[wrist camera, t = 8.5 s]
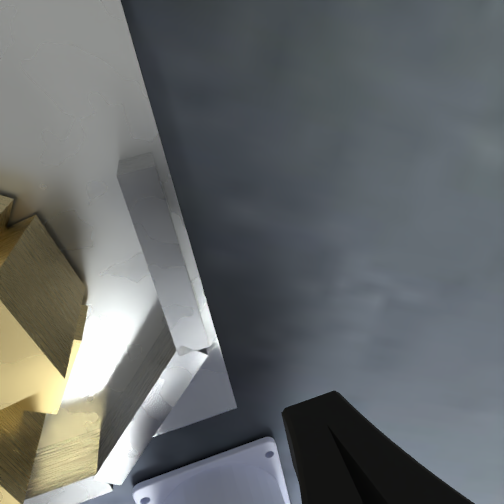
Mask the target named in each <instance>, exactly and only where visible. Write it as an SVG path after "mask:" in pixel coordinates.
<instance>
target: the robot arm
mask: <svg viewBox="0 0 504 504" xmlns="http://www.w3.org/2000/svg"><path fill="white" fill-rule="evenodd" d="M282 417H283V422H284V426H285V431H286V435H287V440H288V444H289V449H290V453H291V458H292V462H293V466H294V469H295V472H296V475H297V478H298V481H299V485H300V492H301V499H302V504H474V503H473V502H471V501H470V500H469V499H467V498H466V497H464V496H463V495H461V494H460V493H459V492H457V491H456V490H455V489H453V488H452V487H450V486H449V485H448V484H446V483H445V482H444V481H442V480H441V479H439V478H438V477H437V476H435V475H434V474H433V473H431V472H430V471H429V470H428V469H426V468H425V467H424V466H422V465H421V464H420V463H418V462H417V461H416V460H415V459H414V458H412V457H411V456H410V455H409V454H407V453H406V452H405V451H404V450H402V449H401V448H400V447H399V446H397V445H396V444H395V443H394V442H392V441H391V440H390V439H389V438H388V437H387V436H385V435H384V434H383V433H382V432H381V431H380V430H378V429H377V428H376V427H375V426H374V425H373V424H372V423H370V422H369V421H368V420H367V419H366V418H365V417H364V416H363V415H362V414H360V413H359V412H358V411H357V410H356V409H355V408H354V407H353V406H352V405H351V404H350V403H349V402H348V401H347V400H346V399H345V398H344V397H343V396H342V395H341V394H340V393H338V392H336V391H332V392H329V393H326V394H323V395H320V396H318V397H315V398H312V399H309V400H306V401H304V402H301V403H298V404H295V405H292V406H289V407H287V408H285V409H284V411H283V412H282ZM268 451H269V452H268ZM133 498H134V500H135V502H136V504H290V500H289V496H288V492H287V487H286V483H285V479H284V475H283V471H282V467H281V463H280V459H279V455H278V450H277V446H276V443H275V440H274V439H273V438H272V437H264V438H261V439H259V440H256V441H253V442H250V443H248V444H245V445H242V446H239V447H237V448H234V449H231V450H228V451H226V452H223V453H220V454H217V455H215V456H212V457H209V458H206V459H203V460H201V461H198V462H195V463H192V464H190V465H187V466H184V467H181V468H179V469H176V470H173V471H170V472H168V473H165V474H162V475H159V476H157V477H154V478H151V479H148V480H146V481H143V482H140V483H138V484H136V485H135V486H134V487H133Z"/></svg>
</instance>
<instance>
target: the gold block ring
mask: <svg viewBox="0 0 504 504" xmlns="http://www.w3.org/2000/svg"><path fill="white" fill-rule="evenodd" d="M13 201H14V199H12V198H8V197H5V196H2V195H0V504H23V503H24V499H25V495H26V491H27V487H28V483H29V479H30V475H31V471H32V467H33V463H34V459H35V455H36V452H37V448H38V444H39V440H40V436H41V432H42V428H43V424H44V420H45V416H46V413H49V414H57V413H58V410H59V407H60V404H61V401H62V398H63V395H64V392H65V389H66V386H67V383H68V380H69V377H70V374H71V371H72V368H73V365H74V363H75V360H76V357H77V354H78V351H79V348H80V345H81V342H82V337H83V332H84V327H85V321H86V316H87V311H88V306H87V305H82V300H83V296H84V291H85V286H84V284H83V283H82V281H81V280H80V278H79V277H78V275H77V274H76V272H75V271H74V270H73V268H72V267H71V265H70V264H69V262H68V261H67V259H66V258H65V256H64V255H63V253H62V252H61V251H60V249H59V248H58V246H57V245H56V243H55V242H54V240H53V239H52V237H51V236H50V234H49V233H48V232H47V230H46V229H45V227H44V226H43V224H42V223H41V221H40V220H39V218H38V217H37V215H34V216H32V217H30V218H28V219H25V220H23V221H21V222H19V223H16V224H14V225H12V226H10V227H7V224H8V220H9V216H10V213H11V209H12V205H13Z"/></svg>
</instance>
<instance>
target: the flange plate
mask: <svg viewBox="0 0 504 504" xmlns="http://www.w3.org/2000/svg"><path fill="white" fill-rule="evenodd" d="M0 195H2V196H5V197H8V198H12V199H14V201H13V205H12V209H11V213H10V216H9V220H8V224H7V227H10V226H12V225H14V224H16V223H19V222H21V221H23V220H25V219H28V218H30V217H32V216H34V215H37V217H38V218H39V220H40V221H41V223H42V224H43V226H44V227H45V229H46V230H47V232H48V233H49V234H50V236H51V237H52V239H53V240H54V242H55V243H56V245H57V246H58V248H59V249H60V251H61V252H62V253H63V255H64V256H65V258H66V259H67V261H68V262H69V264H70V265H71V267H72V268H73V270H74V271H75V272H76V274H77V275H78V277H79V278H80V280H81V281H82V283H83V284H84V286H85V291H84V296H83V300H82V305H87V306H88V311H87V316H86V321H85V327H84V332H83V337H82V342H81V345H80V348H79V351H78V354H77V357H76V360H75V363H74V365H73V368H72V371H71V374H70V377H69V380H68V383H67V386H66V389H65V392H64V395H63V398H62V401H61V404H60V407H59V410H58V413H57V414H49V413H46V416H45V420H44V424H43V428H42V432H41V436H40V440H39V444H38V448H37V452H36V455H35V459H34V463H33V467H32V471H31V475H30V479H29V483H28V487H27V491H26V495H25V499H24V503H23V504H78V503H81V502H84V501H87V500H89V499H92V498H95V497H98V496H100V495H103V494H106V493H109V492H111V491H113V484H116V485H121V484H122V483H123V481H124V480H125V478H126V477H127V475H128V474H129V472H130V471H131V469H132V468H133V466H134V465H135V463H136V462H137V460H138V459H139V457H140V456H141V454H142V453H143V451H144V450H145V448H146V447H147V445H148V444H149V442H150V441H151V439H152V438H153V437H155V436H158V435H161V434H164V433H167V432H169V431H172V430H175V429H178V428H181V427H184V426H187V425H190V424H192V423H195V422H198V421H201V420H204V419H207V418H210V417H212V416H215V415H218V414H221V413H224V412H227V411H230V410H233V409H235V408H237V405H236V402H235V398H234V395H233V391H232V388H231V384H230V381H229V377H228V374H227V370H226V367H225V363H224V360H223V356H222V353H221V349H220V346H219V342H218V339H217V335H216V332H215V329H214V325H213V322H212V318H211V315H210V311H209V308H208V304H207V301H206V297H205V294H204V290H203V287H202V283H201V280H200V276H199V273H198V269H197V266H196V262H195V259H194V255H193V252H192V248H191V245H190V241H189V238H188V234H187V231H186V227H185V224H184V220H183V217H182V213H181V210H180V206H179V203H178V199H177V196H176V192H175V189H174V185H173V182H172V178H171V175H170V171H169V168H168V164H167V161H166V157H165V154H164V151H163V147H162V144H161V140H160V137H159V133H158V130H157V126H156V123H155V119H154V116H153V112H152V109H151V105H150V102H149V98H148V95H147V91H146V88H145V84H144V81H143V77H142V74H141V70H140V67H139V63H138V60H137V56H136V53H135V49H134V46H133V42H132V39H131V35H130V32H129V28H128V25H127V21H126V18H125V14H124V11H123V7H122V4H121V0H0Z"/></svg>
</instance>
